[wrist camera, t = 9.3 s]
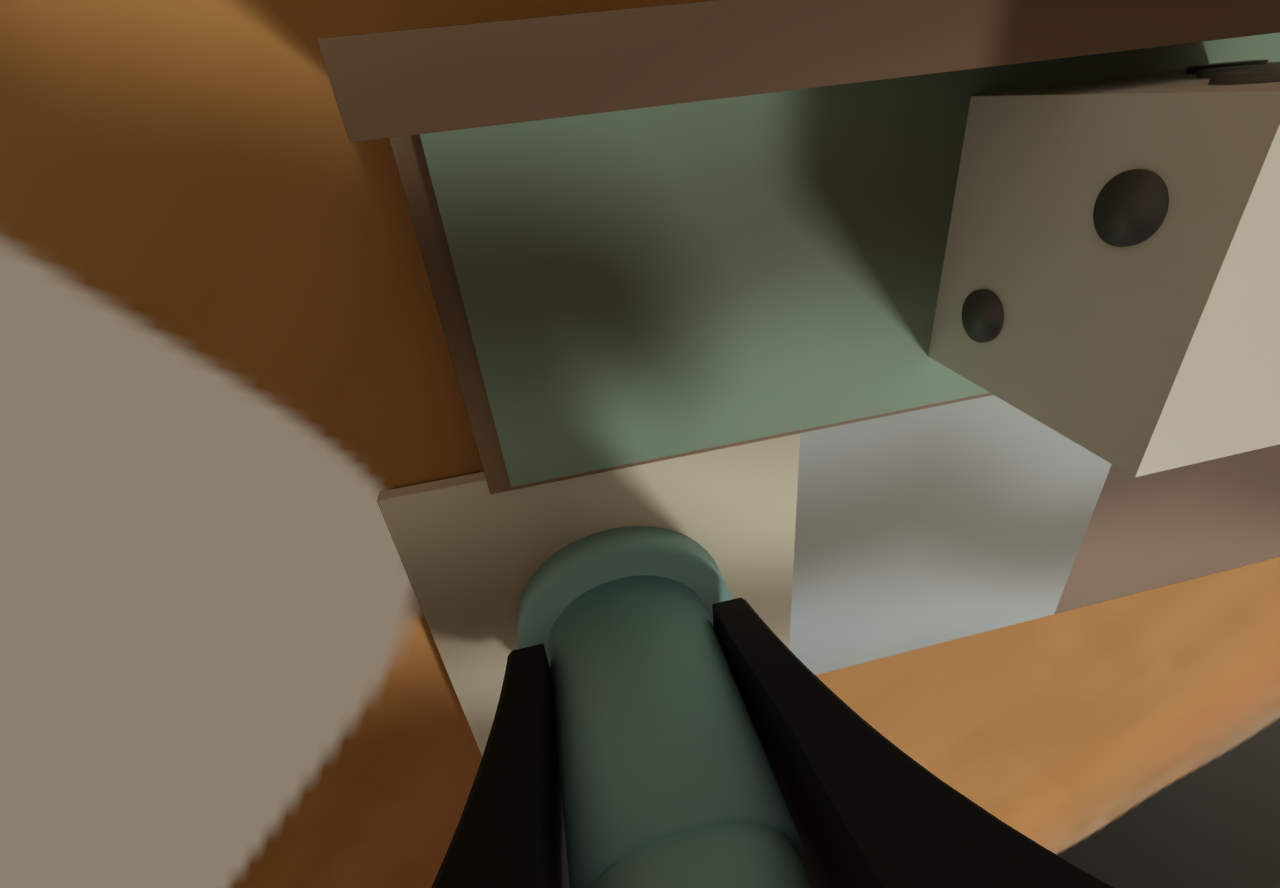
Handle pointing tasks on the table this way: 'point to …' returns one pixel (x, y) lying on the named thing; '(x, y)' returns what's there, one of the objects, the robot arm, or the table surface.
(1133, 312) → the die
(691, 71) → the dice tray
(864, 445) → the track
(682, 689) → the pawn
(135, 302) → the table surface
